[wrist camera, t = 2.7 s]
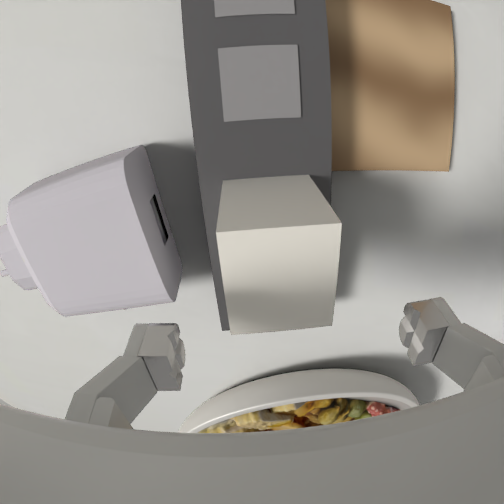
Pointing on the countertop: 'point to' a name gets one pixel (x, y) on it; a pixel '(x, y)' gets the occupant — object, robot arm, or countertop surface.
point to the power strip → (256, 98)
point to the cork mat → (391, 84)
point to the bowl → (300, 402)
